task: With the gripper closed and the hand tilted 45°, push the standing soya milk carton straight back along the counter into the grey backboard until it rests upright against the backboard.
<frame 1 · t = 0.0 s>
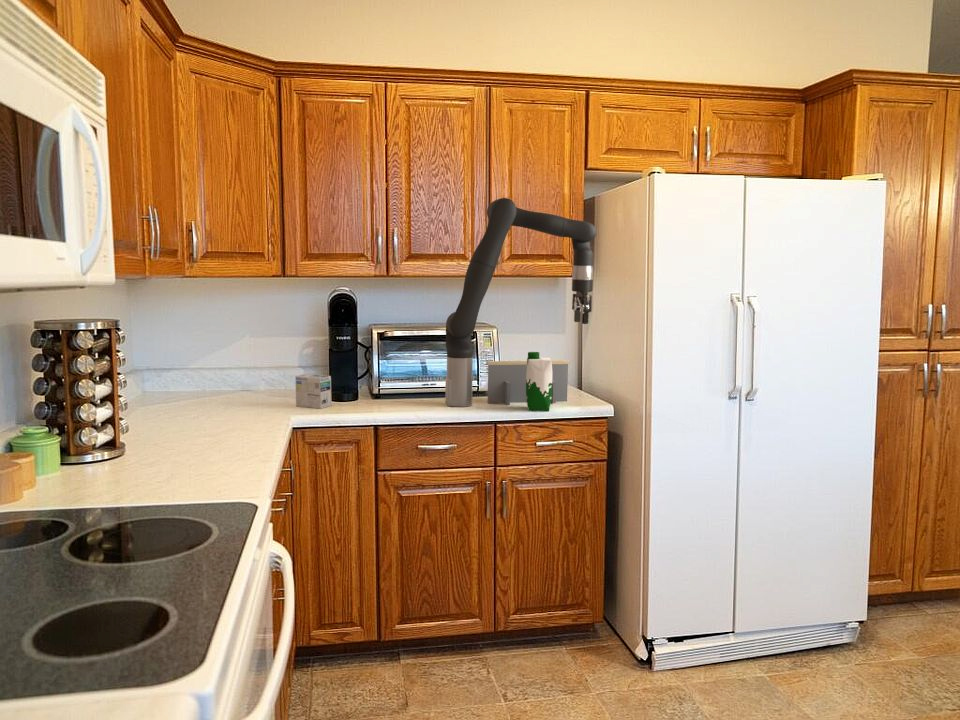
hand: (581, 322, 267), 29 cm above the counter, tool pointing down, fingers open, 8 cm apart
light bulb box: (313, 406, 255), on the counter
grey backboard: (527, 401, 269), on the counter
soya milk: (538, 409, 255), on the counter
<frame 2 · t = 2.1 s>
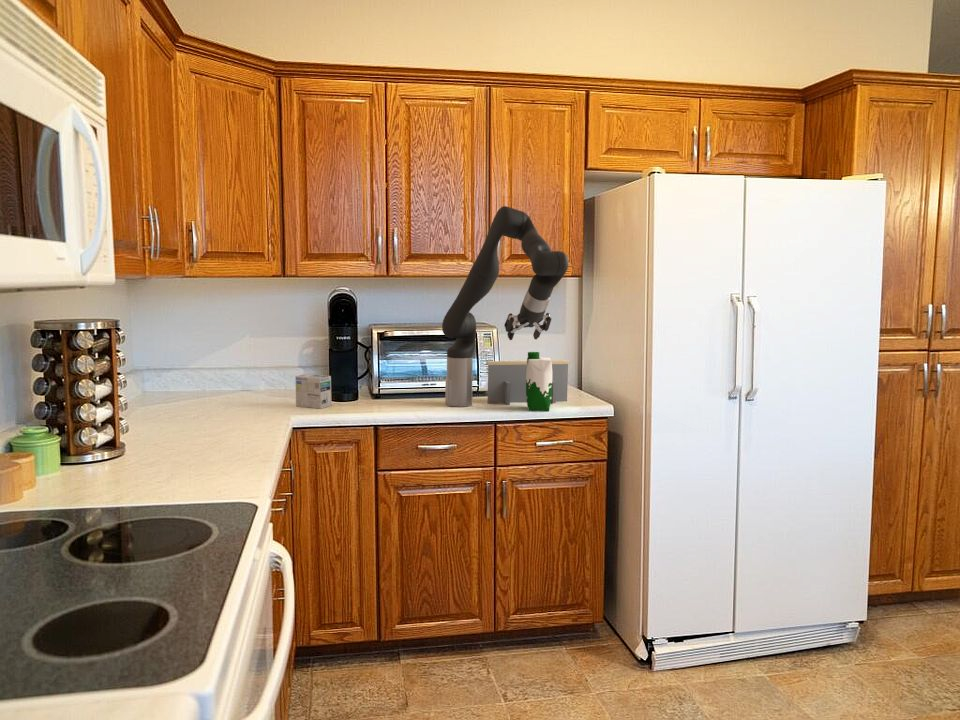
hand: (522, 337, 236), 27 cm above the counter, tool tilted 45°, fingers open, 8 cm apart
nothing on the counter moved.
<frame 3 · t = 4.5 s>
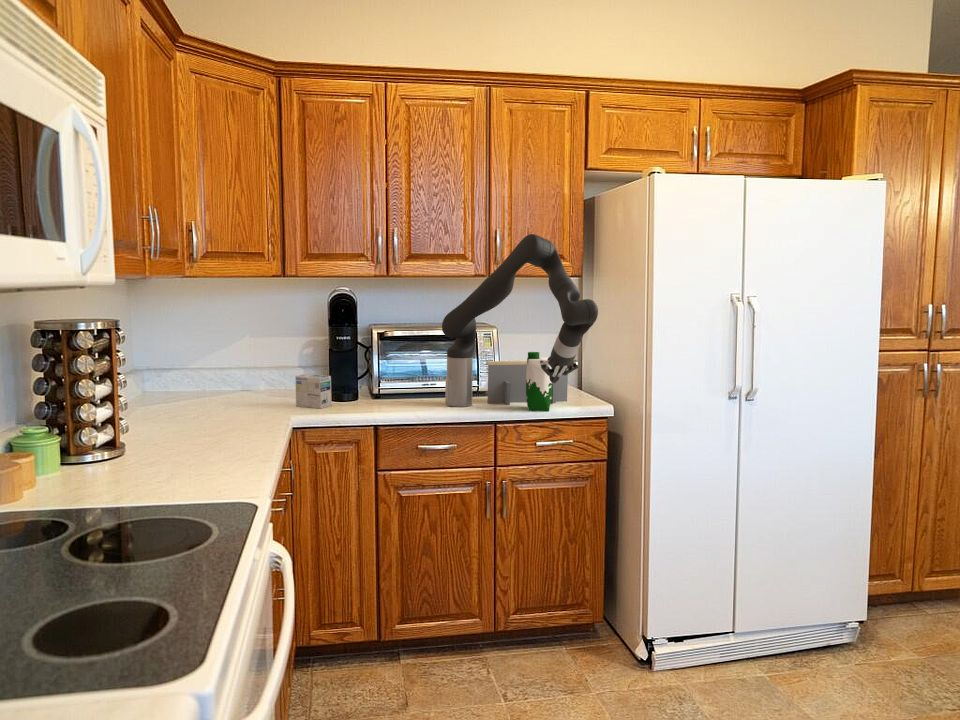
hand: (552, 380, 238), 13 cm above the counter, tool tilted 45°, fingers closed
nothing on the counter moved.
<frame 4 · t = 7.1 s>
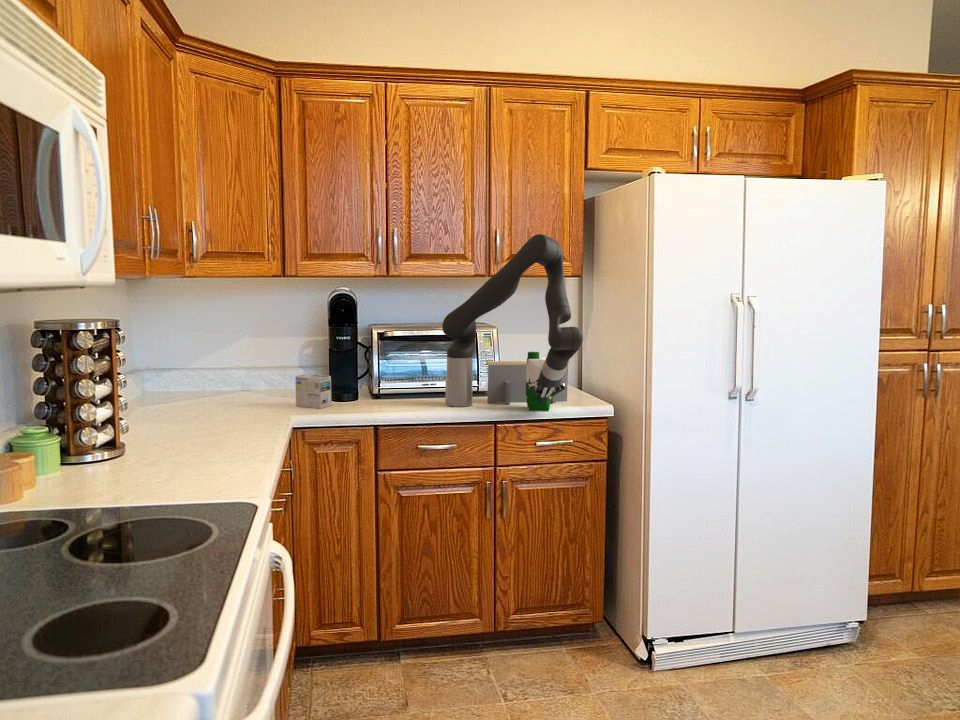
hand: (541, 400, 251), 4 cm above the counter, tool tilted 45°, fingers closed
soya milk: (538, 409, 255), on the counter, touching gripper
everything else where it was.
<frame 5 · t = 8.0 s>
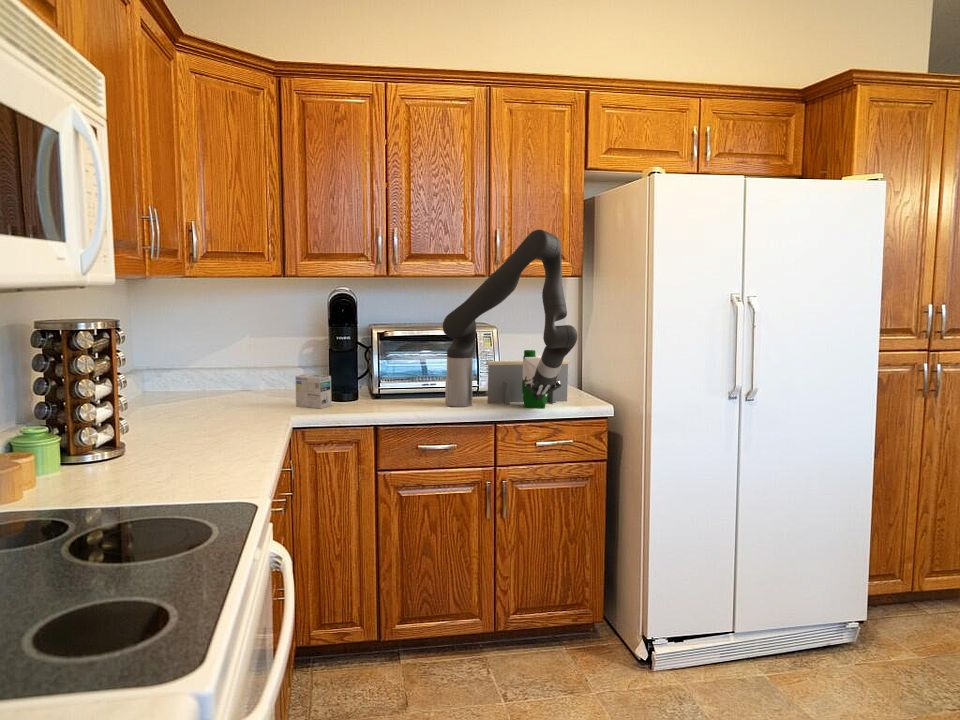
hand: (537, 398, 256), 4 cm above the counter, tool tilted 45°, fingers closed
soya milk: (534, 406, 260), on the counter, touching gripper
everything else where it was.
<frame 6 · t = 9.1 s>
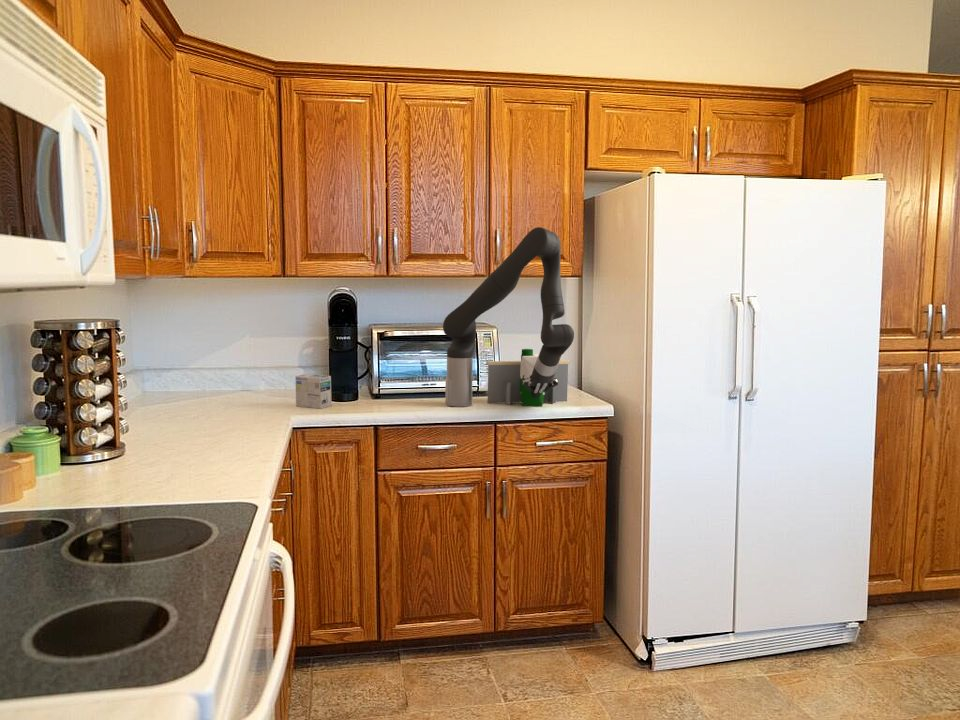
hand: (535, 396, 259), 4 cm above the counter, tool tilted 45°, fingers closed
soya milk: (531, 405, 264), on the counter, touching gripper
everything else where it was.
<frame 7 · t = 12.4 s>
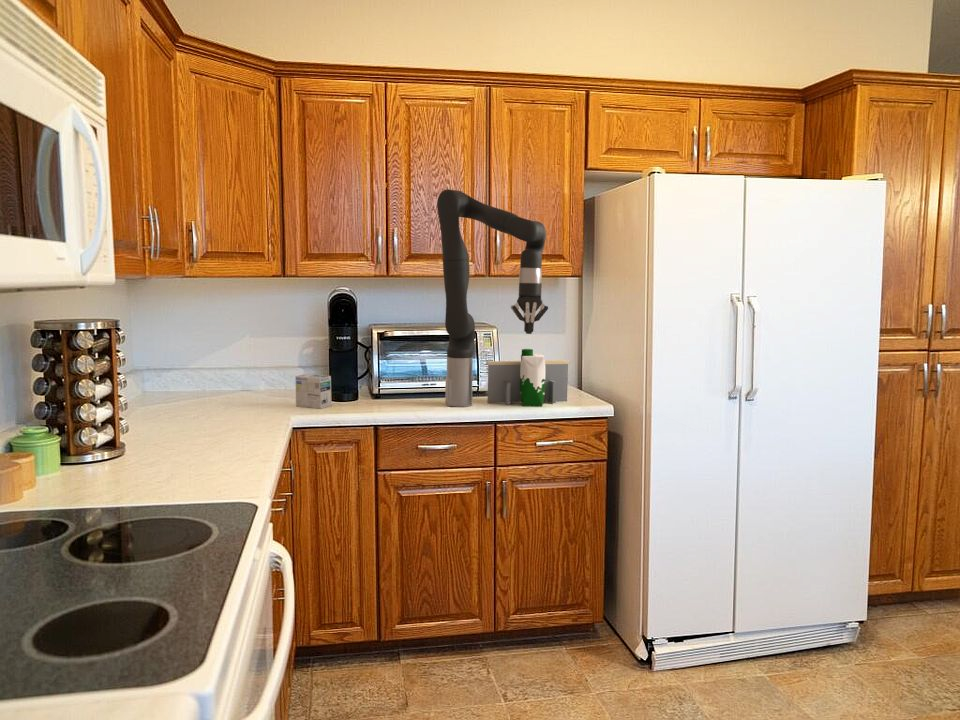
hand: (528, 333, 244), 27 cm above the counter, tool pointing down, fingers closed
soya milk: (531, 405, 264), on the counter
everything else where it was.
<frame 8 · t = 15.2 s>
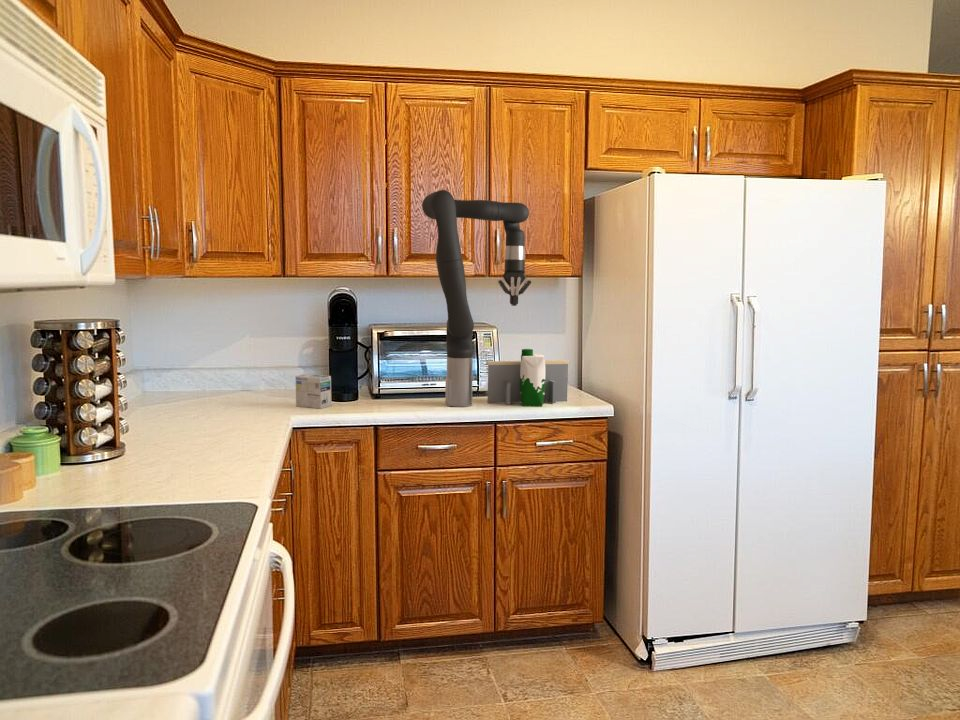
hand: (513, 305, 271), 35 cm above the counter, tool pointing down, fingers closed
nothing on the counter moved.
at the end: soya milk inside the target area (0.3 cm from its centre), on the counter; soya milk tilted 0° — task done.
